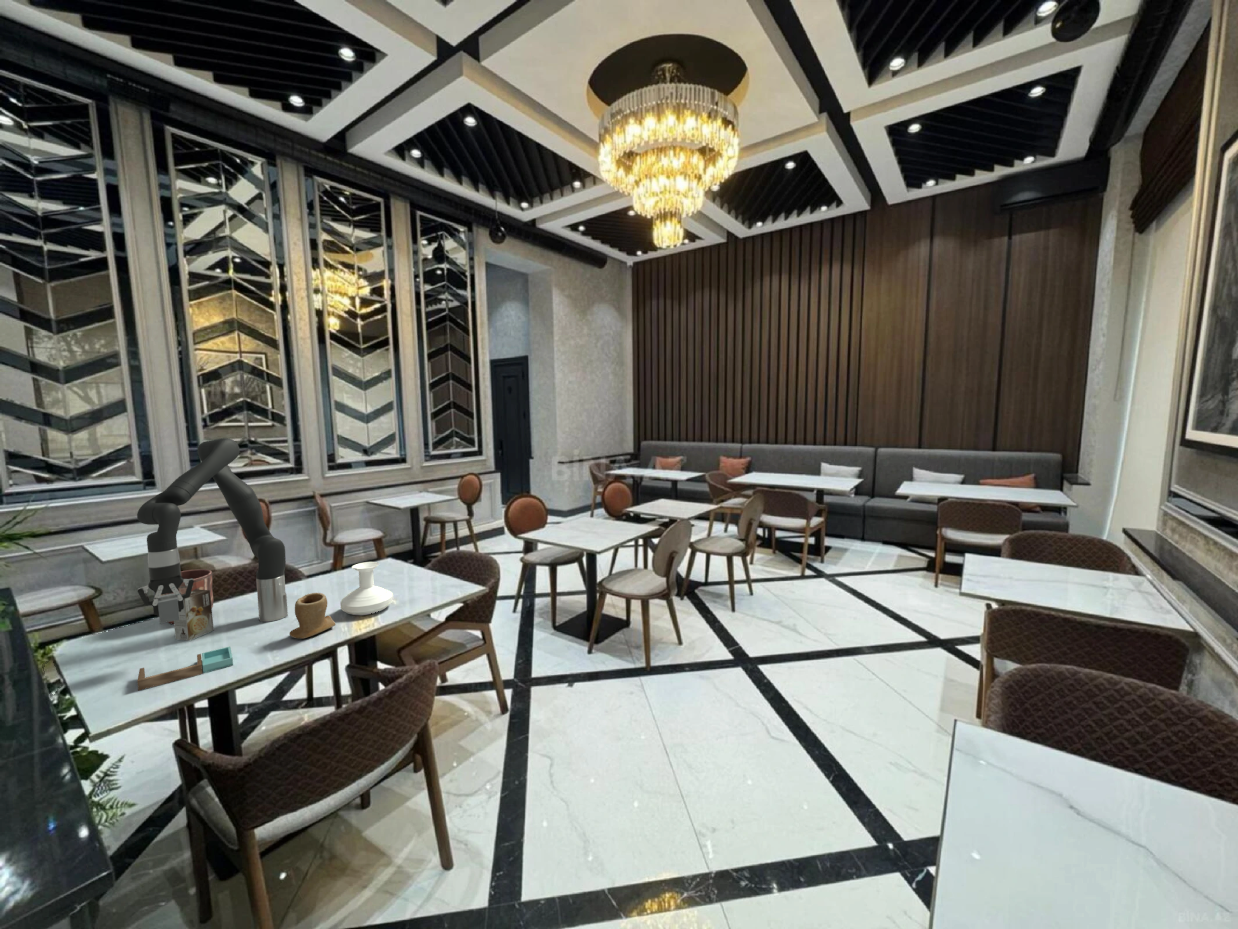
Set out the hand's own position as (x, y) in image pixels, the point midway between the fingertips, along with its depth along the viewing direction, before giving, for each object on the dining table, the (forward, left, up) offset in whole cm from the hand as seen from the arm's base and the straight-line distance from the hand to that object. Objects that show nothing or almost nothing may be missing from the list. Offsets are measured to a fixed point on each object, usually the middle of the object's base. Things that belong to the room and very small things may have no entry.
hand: (169, 613), depth 159 cm
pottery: (-4, -43, -17) cm, 46 cm away
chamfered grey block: (0, 0, -2) cm, 2 cm away
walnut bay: (0, +12, -16) cm, 20 cm away
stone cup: (-40, +7, -17) cm, 44 cm away
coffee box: (-6, -21, -17) cm, 27 cm away
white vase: (-61, -4, -17) cm, 63 cm away
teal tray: (-11, +12, -16) cm, 23 cm away
